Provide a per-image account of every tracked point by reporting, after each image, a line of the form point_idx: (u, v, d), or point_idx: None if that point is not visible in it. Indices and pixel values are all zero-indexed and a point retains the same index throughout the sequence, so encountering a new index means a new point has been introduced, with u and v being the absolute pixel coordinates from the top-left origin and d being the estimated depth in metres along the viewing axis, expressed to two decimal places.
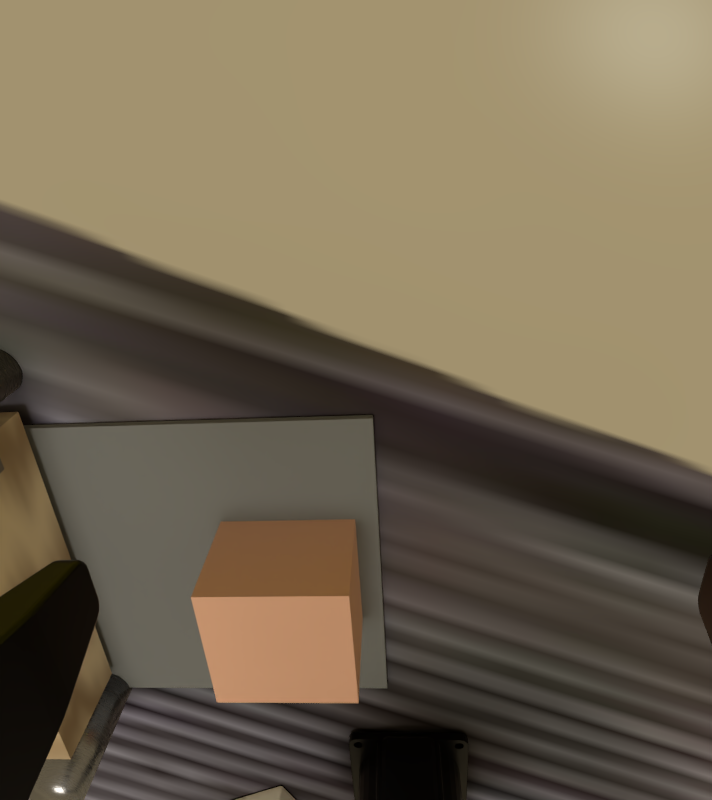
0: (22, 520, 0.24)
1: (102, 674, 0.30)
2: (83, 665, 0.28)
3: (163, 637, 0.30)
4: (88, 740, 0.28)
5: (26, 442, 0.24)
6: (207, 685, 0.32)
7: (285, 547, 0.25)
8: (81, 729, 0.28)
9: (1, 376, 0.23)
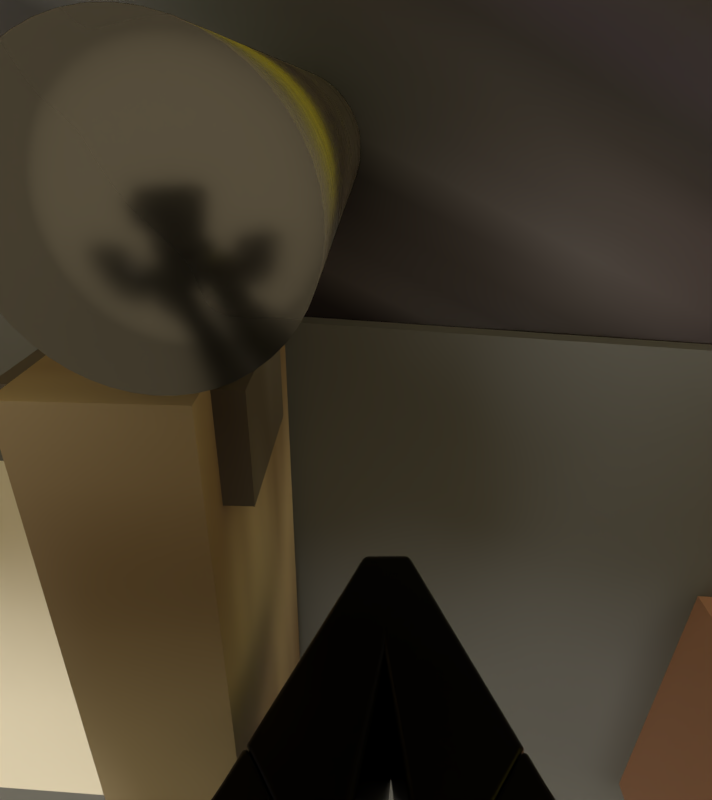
0: (273, 566, 0.09)
1: None
2: None
3: None
4: None
5: (283, 354, 0.09)
6: None
7: None
8: None
9: (355, 137, 0.07)
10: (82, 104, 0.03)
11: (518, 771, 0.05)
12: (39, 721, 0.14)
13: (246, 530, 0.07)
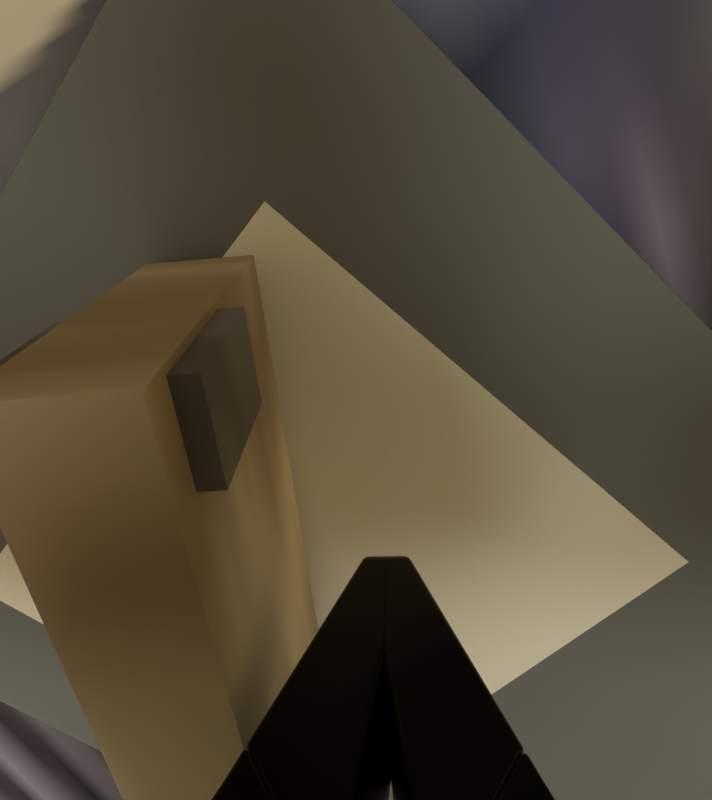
0: (274, 557, 0.09)
1: None
2: None
3: None
4: None
5: (266, 346, 0.09)
6: None
7: None
8: None
9: None
10: None
11: (518, 771, 0.05)
12: None
13: (232, 519, 0.07)
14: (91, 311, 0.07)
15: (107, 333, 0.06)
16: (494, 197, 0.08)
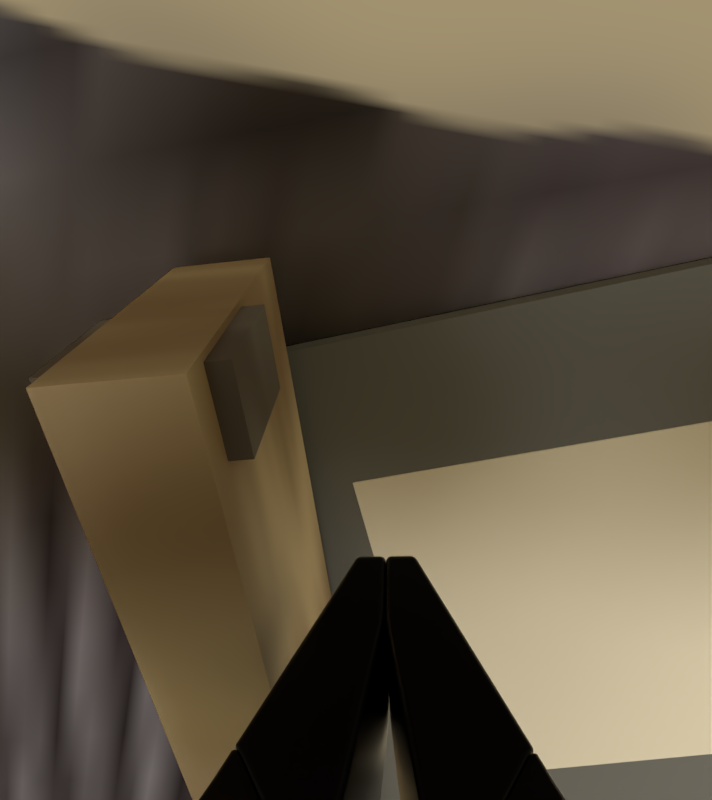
0: (292, 527, 0.10)
1: None
2: None
3: None
4: None
5: (282, 339, 0.10)
6: None
7: None
8: None
9: None
10: None
11: (528, 771, 0.05)
12: (525, 675, 0.14)
13: (257, 488, 0.08)
14: (132, 310, 0.08)
15: (149, 328, 0.07)
16: None
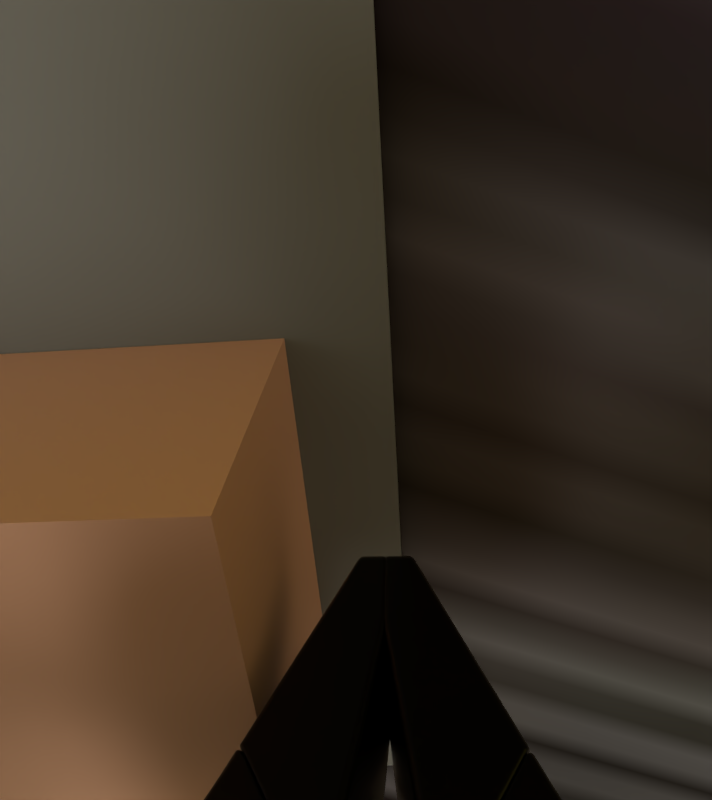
0: None
1: None
2: None
3: None
4: None
5: None
6: None
7: (59, 396, 0.08)
8: None
9: None
10: None
11: (524, 771, 0.05)
12: None
13: None
14: None
15: None
16: None
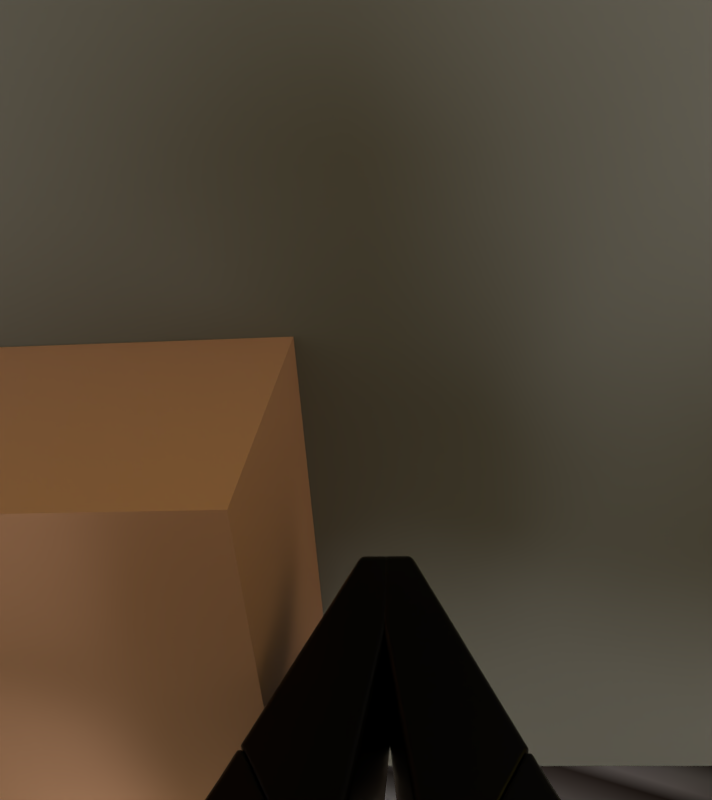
0: None
1: None
2: None
3: None
4: None
5: None
6: None
7: (70, 389, 0.08)
8: None
9: None
10: None
11: (523, 772, 0.05)
12: None
13: None
14: None
15: None
16: None
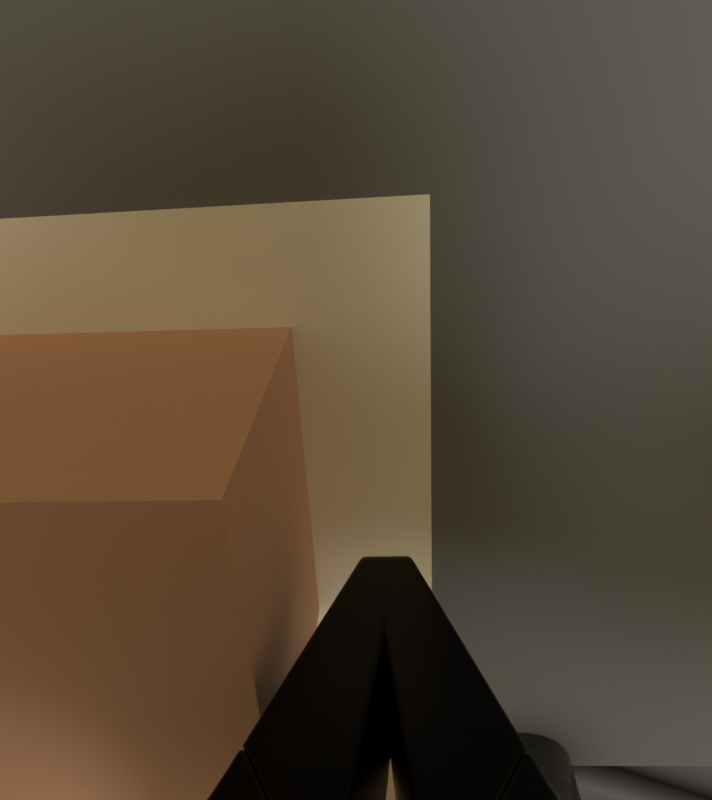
0: None
1: None
2: None
3: None
4: None
5: None
6: None
7: (63, 378, 0.08)
8: None
9: None
10: None
11: (521, 771, 0.05)
12: None
13: None
14: None
15: None
16: None
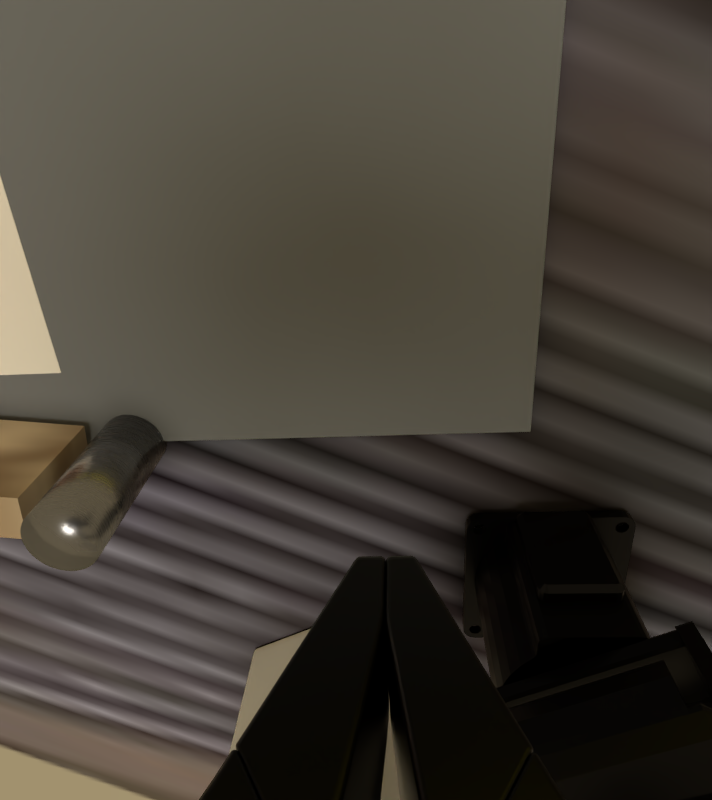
0: None
1: (53, 434, 0.22)
2: None
3: (215, 347, 0.21)
4: (109, 474, 0.19)
5: None
6: (273, 433, 0.22)
7: None
8: (29, 474, 0.19)
9: None
10: None
11: (528, 771, 0.05)
12: None
13: None
14: None
15: None
16: None
